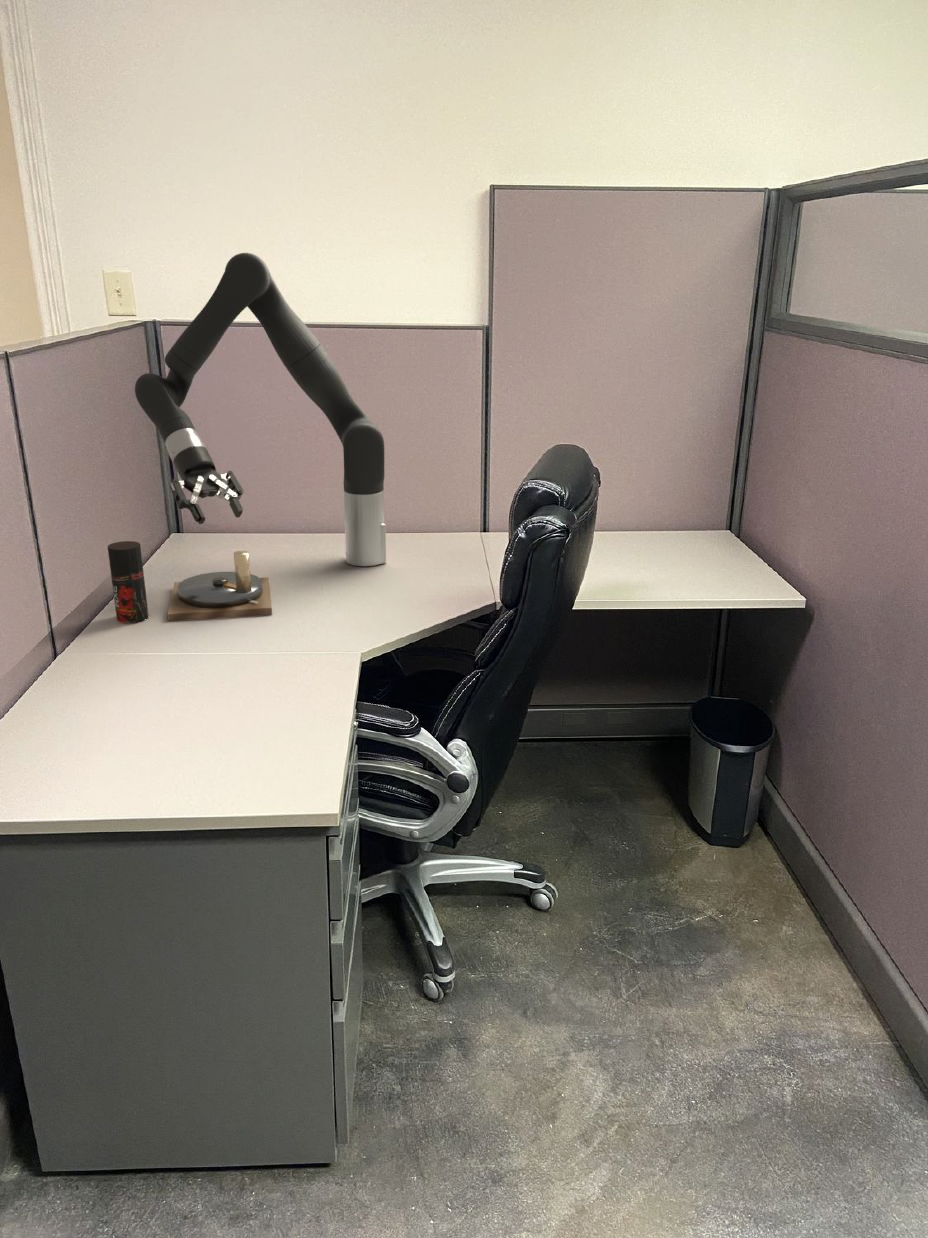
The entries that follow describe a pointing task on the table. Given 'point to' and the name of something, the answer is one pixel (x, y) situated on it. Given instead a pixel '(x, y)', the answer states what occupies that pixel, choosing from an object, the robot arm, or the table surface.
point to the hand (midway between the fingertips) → (221, 518)
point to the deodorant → (128, 582)
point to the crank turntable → (222, 586)
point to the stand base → (191, 612)
